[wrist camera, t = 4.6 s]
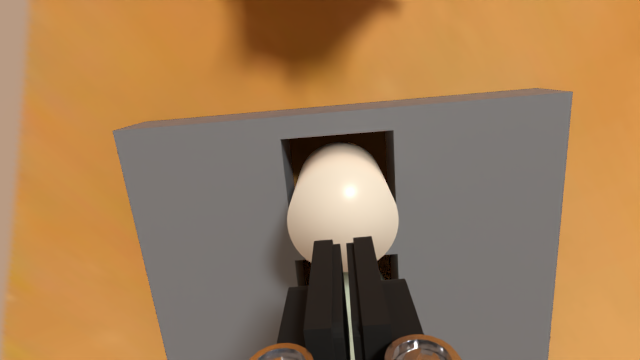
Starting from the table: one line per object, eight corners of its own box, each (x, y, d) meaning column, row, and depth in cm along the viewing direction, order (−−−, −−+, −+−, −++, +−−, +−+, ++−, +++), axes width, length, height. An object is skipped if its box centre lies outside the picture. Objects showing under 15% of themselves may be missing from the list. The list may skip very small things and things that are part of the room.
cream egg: (379, 138, 18) (396, 164, 13) (383, 217, 19) (400, 268, 14) (294, 145, 18) (281, 172, 13) (303, 223, 19) (293, 275, 14)
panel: (536, 88, 19) (572, 91, 16) (515, 395, 24) (540, 440, 21) (144, 121, 20) (112, 130, 17) (206, 408, 25) (189, 452, 22)
